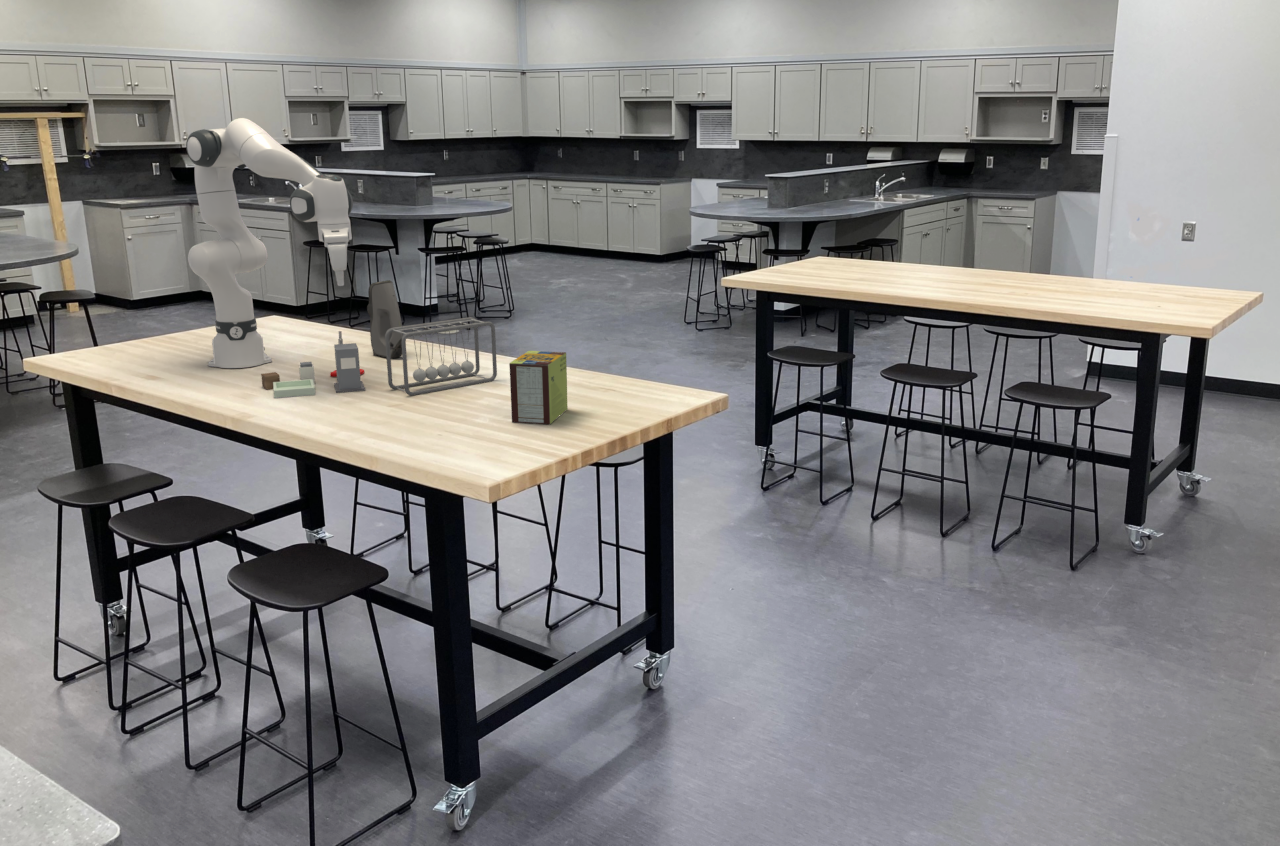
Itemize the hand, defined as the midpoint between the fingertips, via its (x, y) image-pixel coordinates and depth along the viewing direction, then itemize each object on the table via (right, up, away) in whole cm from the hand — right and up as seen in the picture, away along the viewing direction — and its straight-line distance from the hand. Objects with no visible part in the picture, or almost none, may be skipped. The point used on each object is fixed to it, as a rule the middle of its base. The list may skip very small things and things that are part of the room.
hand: (340, 283), depth 296 cm
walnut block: (-21, -29, +5) cm, 36 cm away
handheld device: (+3, -18, +46) cm, 49 cm away
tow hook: (-4, -25, +21) cm, 33 cm away
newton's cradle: (+28, -29, +7) cm, 41 cm away
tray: (-13, -31, -1) cm, 33 cm away
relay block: (-12, -28, +10) cm, 32 cm away
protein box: (+59, -38, -26) cm, 74 cm away
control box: (+1, -29, +4) cm, 30 cm away
